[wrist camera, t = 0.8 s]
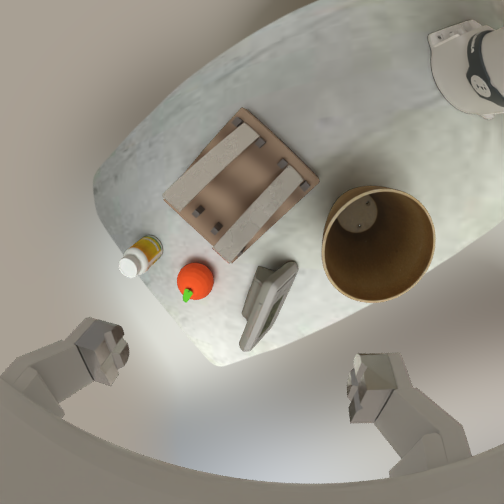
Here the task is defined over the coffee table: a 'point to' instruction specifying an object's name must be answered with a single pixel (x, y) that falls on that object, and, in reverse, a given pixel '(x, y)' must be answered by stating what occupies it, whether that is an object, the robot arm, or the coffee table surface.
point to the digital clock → (265, 302)
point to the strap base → (244, 182)
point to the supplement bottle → (140, 256)
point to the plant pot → (377, 243)
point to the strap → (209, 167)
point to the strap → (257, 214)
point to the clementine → (195, 281)
